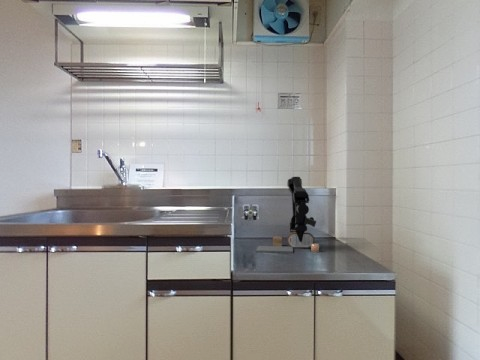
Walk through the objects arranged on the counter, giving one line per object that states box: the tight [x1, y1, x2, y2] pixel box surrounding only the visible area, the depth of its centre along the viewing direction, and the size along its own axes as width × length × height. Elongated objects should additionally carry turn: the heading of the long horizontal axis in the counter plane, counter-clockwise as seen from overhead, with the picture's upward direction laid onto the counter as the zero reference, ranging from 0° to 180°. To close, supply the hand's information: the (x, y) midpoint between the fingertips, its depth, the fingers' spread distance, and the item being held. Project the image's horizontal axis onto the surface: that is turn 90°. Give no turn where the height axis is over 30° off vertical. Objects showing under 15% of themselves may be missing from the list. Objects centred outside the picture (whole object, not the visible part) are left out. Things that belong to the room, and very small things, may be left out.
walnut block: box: [272, 236, 283, 246], centre depth 188 cm, size 5×5×5 cm
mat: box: [255, 245, 294, 254], centre depth 176 cm, size 12×19×1 cm, turn 82°
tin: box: [286, 232, 315, 249], centre depth 182 cm, size 15×3×8 cm, turn 81°
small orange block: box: [310, 242, 320, 253], centre depth 172 cm, size 4×4×4 cm
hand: (300, 241), depth 182 cm, fingers open, 2 cm apart
